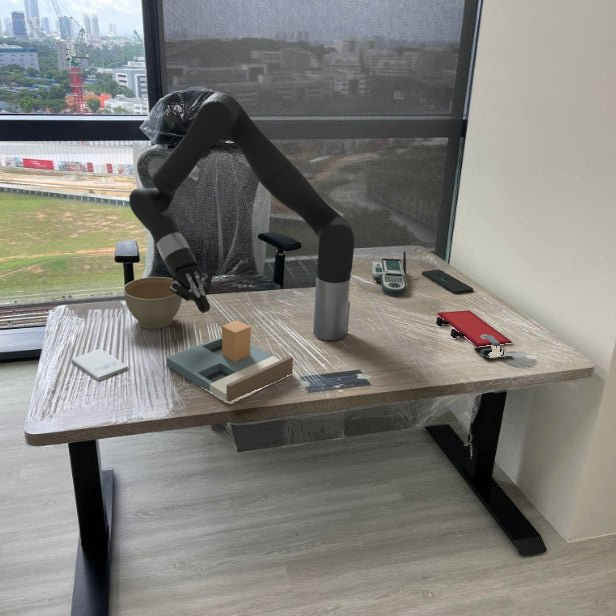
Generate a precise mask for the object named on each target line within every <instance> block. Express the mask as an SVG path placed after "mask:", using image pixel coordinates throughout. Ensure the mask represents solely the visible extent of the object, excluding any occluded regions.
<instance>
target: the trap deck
mask: <svg viewBox="0 0 616 616" xmlns="http://www.w3.org/2000/svg"><path fill="white" fill-rule="evenodd" d="M293 364H294V357H293V356H291V355H289V356H287V357H285V358H282V359H280V358H277V357H276V356H274V355H272V354H269V353H268V352H266V351H264V350H262V349H260V348H259V347H256V346H254V345H253V344H251V346H250V356H248V357H245V358H243V359H241V360H238V361H236V362H234V361H233V360H231V359H229V358H227V357H226V356H224V355H222V335H221V336H219V337H217V338H213V339H211V340H208V341H206V342H203V343H201V344H197V345H195V346H192V347H189V348H188V349H185V350H181V351H180V352H177V353H174V354H172V355H169V356H166V366H167V368H169V369H171V370H172V369H173V370H172V371H174V372H175V373H177V374H179V375H180V376H182V377H183V378H185V379H186V380H188V381H190V382H191V383H193V384H194V385H196V386H198V387H199V386H201V387H203V388H204V389H207V390H208V391H210V392H212V393H213V394H215V395H217V396H219V397H221V398H223V399H225V400H227V401H229V402H230V401H232V400H234V399H236V398H238V397H240V396H243V395H245V394H247V393H250V392H252V391H254V390H257V389H259V388H262V387H264V386H266V385H269V384H271V383H274V382H276V381H278V380H280V379H282V378H284V377H286V376H287V375H290V374H292V375H293V371H294V370H293V366H294V365H293ZM201 387H200V388H201ZM204 389H203V390H204Z"/></svg>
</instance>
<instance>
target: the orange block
mask: <svg viewBox="0 0 616 616" xmlns="http://www.w3.org/2000/svg"><path fill="white" fill-rule="evenodd" d="M251 328H252V327H251V326H250V325H247V324H246V323H244V322H242V321H240V320H234V321H231V322H228V323H226V324H224V325H223V324H222V325H221V336H222V355H224V356H226V357H227V358H229V359H231V360H233V361H234V362H236V361H238V360H241V359H243V358H245V357H248V356H250V346H251V345H252V344H251V342H252V341H251V339H252V338H251V335H252V334H251Z"/></svg>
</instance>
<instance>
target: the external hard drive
mask: <svg viewBox="0 0 616 616" xmlns="http://www.w3.org/2000/svg"><path fill="white" fill-rule="evenodd" d="M70 361H71V363H72V364H73V365H74V366H76V367H78V368H79V369H80V370H82V371H84V372H85V373H86V374H87V375H89V376H90V377H92V378H93V379H94V380H96V381H98V382H99V381H102V380H105V379H107V378H110V377H112V376H113V375H118V374H119V373H122V372H125V371H128V370H129V366H128V365H127V364H125V363H123V362H122V361H120V360H119V359H117V358H116V357H115V356H113V355H111V354H109V353H108V352H107V351H105V350H103V349H102V348H97V349H95V350H91V351H89V352H86V353H83V354H81V355H80V354H79V355H78V356H75V357H72V358H71V359H70Z"/></svg>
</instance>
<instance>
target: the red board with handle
mask: <svg viewBox="0 0 616 616" xmlns="http://www.w3.org/2000/svg"><path fill="white" fill-rule="evenodd" d="M436 315H437V316H438V315H439V316H440V317H441V318H440V317H439V316H438V317H436V321H435V325H436V324H437V325H438V326H442V327H443V325H445V326H448V325H447V324H450V325H451V326H452V327H454V328H455V329H456V330H457V331H456V330H455V329H453V328H452V327H451V326H450V325H449V326H450V327H451V329H450V335H451V336H452V337H453V338H458V337H459V338H462V337H461V336H465V337H466V338H467V339H468V340H470V341H471V342H472V343H473V344H474V345H475V346H477V347H479V346H486V345H493V346H496V348H497V346H499V345H500V344H505V343H512V344H513V341H512V340H511V339H509V338H508V337H507V336H505V335H504V334H502V333H501V332H500V331H498V329H496V328H494V327H493V326H491V325H490V324H489V323H487V322H486V321H485V320H483V319H482V318H480V317H479V316H478V315H477V314H475V313H474V312H472V310H459V311H458V310H457V311H443V312H437V314H436ZM442 318H443V319H444V320H443V319H442ZM437 325H436V326H437ZM438 326H437V327H438ZM458 331H459V332H458ZM467 339H466V340H467ZM468 340H467V341H468ZM473 344H472V345H473ZM474 345H473V346H474ZM475 346H474V347H473V350H474V351H475V352H476V353H478V354H479V355H480V356H481V357H483V358H484V359H485V360H491V359H490V358H489V357H490V356H489V355H488V354H489V353H490V352H492V348H491V346H490V347H479V348H476V347H475ZM502 348H503V347H502V346H501V345H500V352H501V351H502ZM504 350H505V349H504V348H503V355H504ZM503 355H501V356H503Z"/></svg>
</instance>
